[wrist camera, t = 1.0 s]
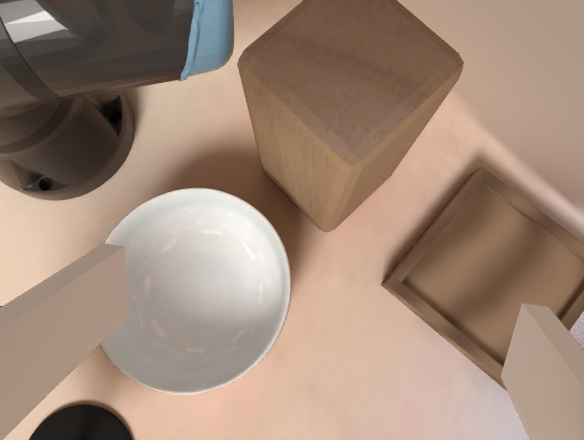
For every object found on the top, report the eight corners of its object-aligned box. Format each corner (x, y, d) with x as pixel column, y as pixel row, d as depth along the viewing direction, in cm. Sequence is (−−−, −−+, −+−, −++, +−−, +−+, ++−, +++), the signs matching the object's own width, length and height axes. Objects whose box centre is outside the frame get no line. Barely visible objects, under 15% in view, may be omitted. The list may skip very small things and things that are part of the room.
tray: (380, 284, 41) (385, 283, 38) (471, 173, 43) (481, 166, 41) (508, 392, 38) (521, 397, 36) (596, 269, 41) (614, 267, 38)
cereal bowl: (248, 411, 38) (237, 434, 31) (91, 336, 40) (48, 342, 33) (319, 244, 42) (323, 231, 35) (171, 181, 43) (147, 157, 36)
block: (327, 108, 45) (351, -49, 25) (395, 172, 43) (477, 58, 23) (258, 169, 43) (227, 53, 24) (326, 238, 42) (352, 174, 22)
